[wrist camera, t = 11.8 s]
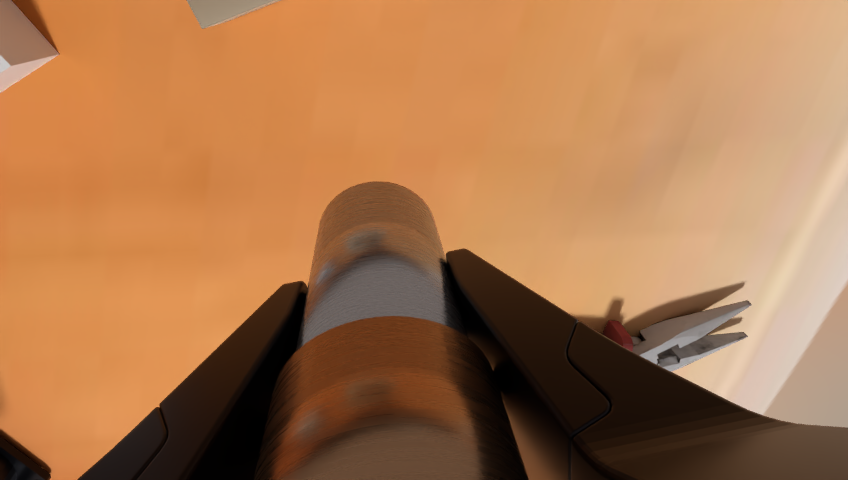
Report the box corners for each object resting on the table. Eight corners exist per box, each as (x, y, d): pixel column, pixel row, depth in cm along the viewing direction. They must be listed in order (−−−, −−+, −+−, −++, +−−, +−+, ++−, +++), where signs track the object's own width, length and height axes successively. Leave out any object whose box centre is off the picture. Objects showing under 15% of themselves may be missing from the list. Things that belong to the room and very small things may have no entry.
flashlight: (452, 276, 12) (577, 700, 5) (330, 301, 12) (279, 765, 5) (433, 160, 10) (582, 547, 3) (291, 188, 10) (132, 642, 3)
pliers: (732, 366, 31) (760, 396, 29) (456, 457, 33) (463, 492, 30) (734, 231, 26) (770, 255, 23) (399, 347, 27) (403, 380, 25)
